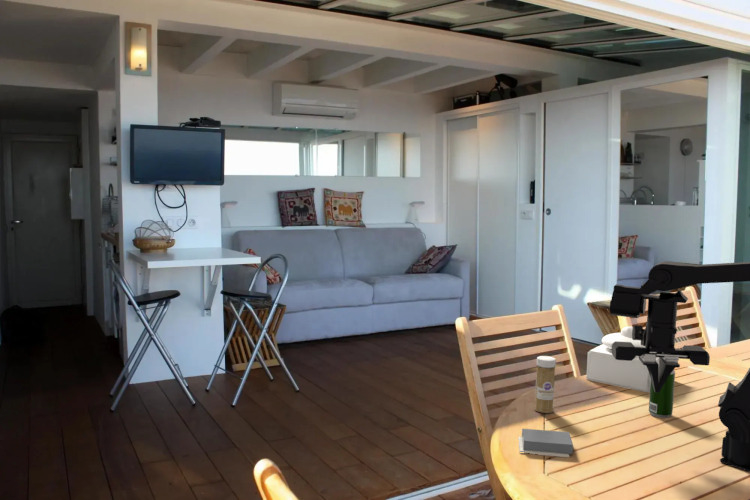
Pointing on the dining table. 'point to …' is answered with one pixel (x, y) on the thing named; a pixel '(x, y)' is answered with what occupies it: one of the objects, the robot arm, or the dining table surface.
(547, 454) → the plate
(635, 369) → the butter dish
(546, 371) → the sprinkles bottle
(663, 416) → the beer can
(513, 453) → the dining table surface
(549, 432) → the slate tile
